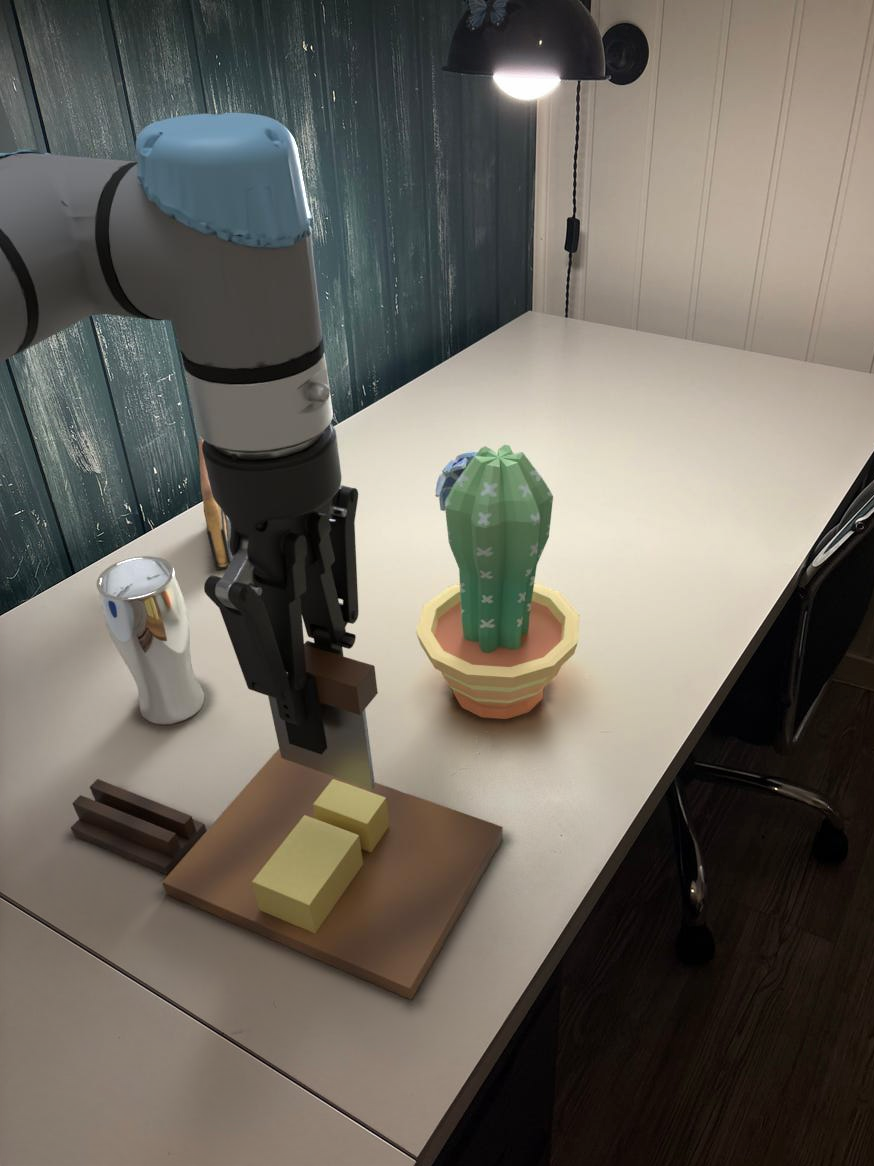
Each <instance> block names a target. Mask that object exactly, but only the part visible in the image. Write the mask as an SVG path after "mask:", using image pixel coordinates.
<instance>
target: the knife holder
mask: <svg viewBox="0 0 874 1166" xmlns="http://www.w3.org/2000/svg"><path fill="white" fill-rule="evenodd" d="M89 789H90V791H91V793H92V797H93V799H92V798H90V797H87V796H85V795H82V794H80V795H79V796H77V798H76V799H75V800H73V802H71V803H72V806H73V808H74V811H75V813H76V815H77V818H78V819H77V820H76V821H75V822H74V823H73V824H72V826H70V830H71V832H72V834H73V836H74V837H78V838H80V839H82V840H85V841H87V842H89V843H92V844H94V845H96V846H99V847H101V848H104V849H106V850H108V851H109V852H112V853H115V854H118V855H119V856H122V857H125V858H127V859H130V860H131V861H133V862H137V863H139V864H141V865H143V866H146V867H149V868H151V869H153V870H156V871H157V872H160V873H163V874H165V875H166V876H168V875H169V874H170V872H171V871H172V870H173V869H174V868H175V867H176V866H177V864H178V863H179V862H180V861H181V860H182V859H183V858H184V856H185V855H186V854H187V853H188V852H189V851H190V850H191V848H192V847H193V846H194V845H195V844H196V843H197V842H198V840H199V839H200V838H201V837H202V836H203V835H204V834H205V832H206V831H207V827H206V825H205V823H204V822H201V821H199V820H196V819H194V817H193V816H192V815H190V814H189V813H188V814H187V813H185V812H184V811H183V812H182V811H180V810H178V809H176V808H173V807H170V806H167V805H165V804H162V803H160V802H157V801H155V800H152V799H149V798H147V797H146V796H142V795H140V794H137V793H134V792H133V791H130V790H127V789H124V788H122V787H119V786H117V785H114V784H113V783H109V782H106V781H105V780H101V779H99V778H97V779H95V780H94V782H93V783H91V784H90V786H89Z"/></svg>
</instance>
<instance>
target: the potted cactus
mask: <svg viewBox="0 0 874 1166" xmlns="http://www.w3.org/2000/svg"><path fill="white" fill-rule="evenodd" d="M441 472H442V473H440V474H439V476H438V478H437V481H436V485H435V495H434V496H435V497H436V498H439V499H438V500H439V509H440V511H442V512H445V520H446V529H447V538H448V544H449V547H450V550H451V552H452V554H453V558H454V559H455V562H456V564H457V567H458V576H459V583H458V584H454V585H450V586H448V587H446V588H445V589H443V591H441V592H440V593H439V594H437V595H436V596H435V597H433V598H431V600H430V601H428V602H426V603H425V604H424V605H422V609H421V613H420V615H419V619H418V623H417V626H416V630H415V634H416V636H417V639H418V643H419V645H420V646H421V648H422V649H423V651H424V654H426V656H427V658H428V659H429V661H430V663H431V664H432V666H433V668H434V669H435V670H436V671H439V672H440V673H441V675H442V677H443V678H444V679H445V681H446V683H447V684H448V686H449V687H450V688H451V689H452V694H453V696H454V697H455V698H456V700H457V702H458V703H459V705H460V706H461V708H462V709H464V710H466V711H469V712H470V713H472V714H474V715H476V716H478V717H480V718H483V719H484V718H485V719H498V720H499V719H500V720H508V719H511V718H514V717H518V716H521V715H525V714H528V713H530V711H531V710H533V708H535V707H536V706H537V705H538V704H539V703H540V702H541V701H542V700H543V699H544V698H543V697H544V688H545V687H546V686H547V685H549V684H550V682H552V681H553V680H554V678H556V677H557V675H558V674H559V671H560V670H561V667H562V666H564V664H565V663H566V662H568V660H569V659H570V658H571V657H572V656H574V654H575V652H576V649H577V646H578V643H579V634H580V633H579V632H580V619H581V617H580V614H579V613H578V611H576V610H575V608H574V607H573V606H572V605H571V604H570V602H569V601H568V600H567V599H566V598H565V596H563V594H562V593H561V592H559V591H556V590H554V589H551V588H549V587H546V586H544V585H541V584H540V583H537V582H535V580H536V574H537V567H538V563H539V561H540V560H541V559H540V558H541V556H542V554H543V552H544V549H545V547H546V545H547V542H548V540H549V538H550V531H551V521H552V520H551V519H552V511H553V501H554V495H553V493H552V490H551V489H550V487H549V486H548V484H547V483H546V481H545V479H544V478H543V476H542V475H541V473H540V472H539V471H538V469H536V467H535V466H534V465H533V464H532V462H531V461H530V460H529V458H528V457H527V456H526V454H525V453H524V452H523V451H521V452H516V453H514V452H513V450H512V447H511V445H509V444H503V445H501V446H500V447H499V448H498V449H497V453H496V451H494V450H493V449H492V448H490V447H488V446H486V445H485V446H482V447H480V449H479V450H478V451H477V452H476V451H473V450H469V451H467V452H466V451H465V452H464V453H461V454H458V455H456V457H455V459H451V460H450V461H449V462H448V463H447V464H446V465H445V467H444V468H443V469H442V470H441Z"/></svg>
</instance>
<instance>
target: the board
mask: <svg viewBox="0 0 874 1166" xmlns="http://www.w3.org/2000/svg"><path fill="white" fill-rule="evenodd" d="M333 779H334V780H337V781H340V782H343V783H346V784H349V785H351V786H354V787H357V788H360V789H363V790H365V791H368V792H371V793H374V794H377V795H380V796H382V797H385V798H386V802H387V811H388V820H389V827H388V829H387V830H386V832H385V833H384V835H383V836H382V837H381V839H380V840H379V842H378V843H377V845H376V846H375V848H374V849H373V851H372V852H368V851H366V850H363V849H361V852H362V859H363V865H362V867H361V868H360V869H359V871H358V872H357V874H356V875H355V877H354V878H353V880H352V881H351V882H350V884H349V885H348V887H347V888H346V890H345V891H344V893H343V894H342V895H341V897H340V898H339V900H338V901H337V903H336V904H335V906H334V907H333V909H332V910H331V911H330V913H329V914H328V916H327V917H326V919H325V920H324V922H323V923H322V924H321V926H320V927H319V929H318V930H317V932H316V933H312V932H310V931H308V930H305V929H303V928H301V927H298V926H296V925H294V924H291V923H289V922H286V921H284V920H282V919H279V918H277V917H275V916H272V915H270V914H268V913H265V912H263V911H260V910H259V906H258V902H257V899H256V895H255V891H254V887H253V884H252V881H253V880H254V878H255V877H256V876H257V875H258V873H259V872H260V871H261V870H262V868H263V867H264V866H265V864H266V863H267V862H268V861H269V859H270V858H271V857H272V856H273V854H274V853H275V852H276V851H277V849H278V848H279V847H280V845H281V844H282V843H283V842H284V840H285V839H286V838H287V837H288V835H289V834H290V833H291V831H292V830H293V829H294V828H295V826H296V825H297V824H298V823H299V821H300V820H301V819H302V818H303V816H304V815H306V816H308V817H311V818H314V819H316V817H315V811H314V806H313V804H314V802H315V801H316V800H317V799H318V797H319V796H320V795H321V794H322V792H323V791H324V790H325V788H326V787H327V786H328V785H329V783H330V782H331V781H332V780H333ZM503 830H504V828H503V825H502V826H501V825H498V824H495V823H493V822H490V821H487V820H484V819H482V818H479V817H475V816H472V815H470V814H467V813H464V812H461V811H458V810H456V809H453V808H450V807H447V806H444V805H442V804H439V803H436V802H432V801H430V800H427V799H425V798H422V797H418V796H416V795H413V794H410V793H407V792H405V791H401V790H398V789H397V788H392V787H390V786H387V785H384V784H381V783H378V782H376V781H375V787H374V789H373V790H371V789H368V788H365V787H363V786H360V785H357V784H354V783H351V782H348V781H345V780H343V779H340V778H337V777H334V776H331V775H328V774H326V773H323V772H320V771H317V770H314V769H311V768H308V767H306V766H303V765H300V764H297V763H294V762H291V761H288V760H286V759H283V758H281V754H280V749H279V748H278V749H277V750H276V751H275V753H273V755H272V756H271V757H269V759H268V760H267V762H265V764H264V765H263V766H262V767H261V769H259V771H258V772H256V774H255V776H253V778H252V779H251V780H250V781H249V782H248V784H246V786H244V788H243V789H242V790H241V791H240V792H239V794H238V795H237V796H236V797H235V798H234V799H233V800H232V802H231V803H230V804H228V806H227V807H226V808H225V809H224V811H222V813H221V814H220V815H219V816H218V817H217V818H216V820H215V821H214V822H213V823H212V824H211V825H210V827H208V829H206V832H205V833H204V834H203V836H202V837H201V838H200V839H199V840H198V841H197V842H196V844H195V845H194V846H193V847H192V848H191V849H190V850H189V851H188V853H187V854H186V855H185V856H184V857H183V858H182V859H181V861H180V862H179V863H178V864H177V865H176V866H175V867H174V869H173V870H172V871H171V872H170V873H169V874H168V875H166V877H165V878H164V879H163V880H162V881H161V884H162V886H163V890H164V893H165V894H166V895H168V896H170V897H173V898H176V899H177V900H180V901H182V902H184V903H187V904H189V905H191V906H194V907H196V908H198V909H201V910H203V911H205V912H207V913H210V914H212V915H215V916H217V917H219V918H221V919H224V920H226V921H228V922H231V923H232V924H235V925H238V926H240V927H242V928H244V929H246V930H249V931H251V932H254V933H256V934H258V935H261V936H263V937H264V938H265V937H266V938H267V939H270V940H272V941H275V942H277V943H279V944H282V945H284V946H286V947H289V948H290V949H292V950H296V951H297V952H299V953H303V954H305V955H307V956H309V957H311V958H313V959H317V960H318V961H321V962H323V963H326V964H328V965H330V966H332V967H335V968H337V969H339V970H341V971H344V972H345V973H349V974H351V975H353V976H356V977H357V978H360V979H362V980H365V981H367V982H369V983H370V984H371V983H372V984H374V985H376V986H378V987H380V988H383V989H385V990H387V991H390V992H392V993H395V994H397V995H399V996H402V997H404V998H406V999H408V1000H413V998H414V997H415V995H416V993H417V991H418V989H419V988H420V986H421V984H422V982H423V980H425V977H426V975H427V973H428V972H429V970H430V968H431V966H432V964H433V963H434V962H435V959H436V957H437V956H438V954H439V952H440V950H441V949H442V947H443V945H444V943H445V942H446V940H447V938H448V936H449V935H450V933H451V931H452V929H453V927H454V926H455V924H456V922H457V920H458V918H459V917H460V915H461V913H462V911H463V910H464V908H465V906H466V904H467V902H468V901H469V899H470V897H471V895H472V894H473V892H474V890H475V888H476V887H477V885H478V883H479V881H480V880H481V878H482V876H483V874H484V873H485V870H487V867H488V865H489V864H490V862H491V859H493V856H494V855H495V853H496V852H497V850H498V848H499V846H500V845H501V843H502V841H503V839H504V835H503V832H504V831H503Z"/></svg>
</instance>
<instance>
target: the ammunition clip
mask: <svg viewBox="0 0 874 1166" xmlns="http://www.w3.org/2000/svg"><path fill="white" fill-rule="evenodd" d="M203 441H204V439H203V438H201V437H200V438H199V441H198V455H199V456H198V457H199V474H200V490H201V496H202V502H203V513H204V518H205V522H206V534H207V539H208V542H209V547H210V551H211V555H212V559H213V564H214V569H215V570H216V571H218V570H223V569H227V568H228V566H229V564H230V562H231V560H232V554H231V552H230V547H229V541H230V532H229V520H228V517H227V516H226V514H225V513H224V511H223V510H222V509H221V508H220V506H219V505H218V504H217V503H216V501H215V500H214V498H213V495H212V492H211V487H210V483H209V478H208V474H207V469H206V465H205V460H204V456H203V451H202V444H203Z"/></svg>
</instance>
